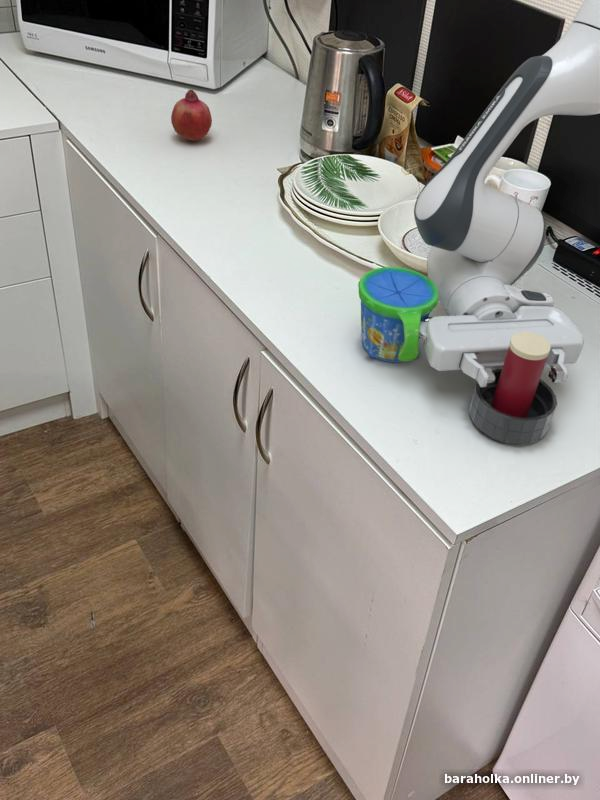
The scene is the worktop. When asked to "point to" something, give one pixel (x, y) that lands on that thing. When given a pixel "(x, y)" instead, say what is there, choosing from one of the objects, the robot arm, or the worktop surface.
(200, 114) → the fruit
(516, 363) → the candy tube
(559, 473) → the worktop surface
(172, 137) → the worktop surface
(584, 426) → the worktop surface
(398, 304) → the snack cup
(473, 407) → the bowl
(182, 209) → the worktop surface
